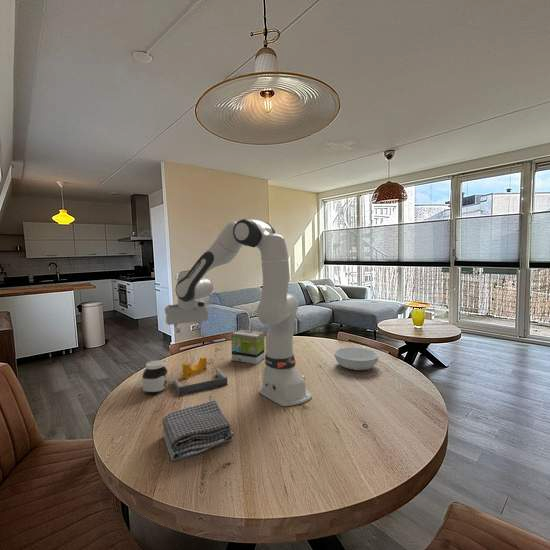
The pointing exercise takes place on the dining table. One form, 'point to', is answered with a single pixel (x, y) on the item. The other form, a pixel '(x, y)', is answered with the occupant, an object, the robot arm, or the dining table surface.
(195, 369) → the pipe clamp
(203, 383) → the tray
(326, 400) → the dining table surface
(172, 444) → the towel
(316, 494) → the dining table surface
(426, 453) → the dining table surface
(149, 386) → the spread jar
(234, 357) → the tea box
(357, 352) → the serving bowl
